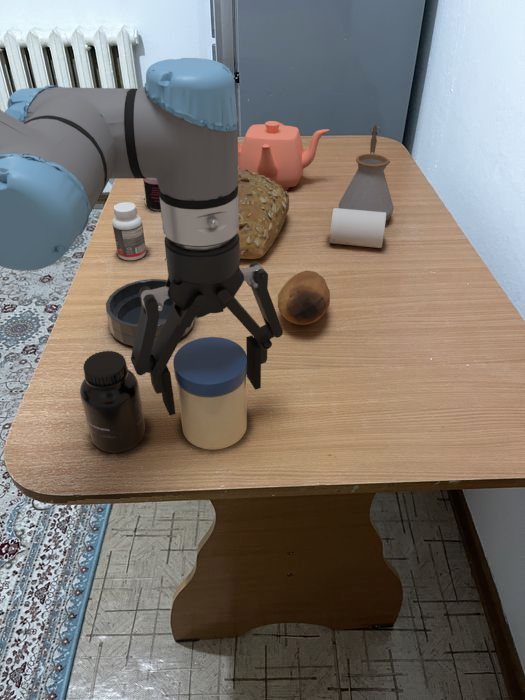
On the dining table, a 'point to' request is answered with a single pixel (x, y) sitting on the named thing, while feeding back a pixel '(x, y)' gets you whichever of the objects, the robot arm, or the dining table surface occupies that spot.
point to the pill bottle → (128, 232)
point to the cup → (357, 227)
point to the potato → (304, 298)
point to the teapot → (277, 152)
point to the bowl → (134, 310)
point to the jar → (214, 417)
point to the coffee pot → (369, 183)
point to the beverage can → (152, 193)
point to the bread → (259, 213)
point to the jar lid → (210, 366)
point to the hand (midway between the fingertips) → (212, 394)
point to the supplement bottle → (112, 402)
